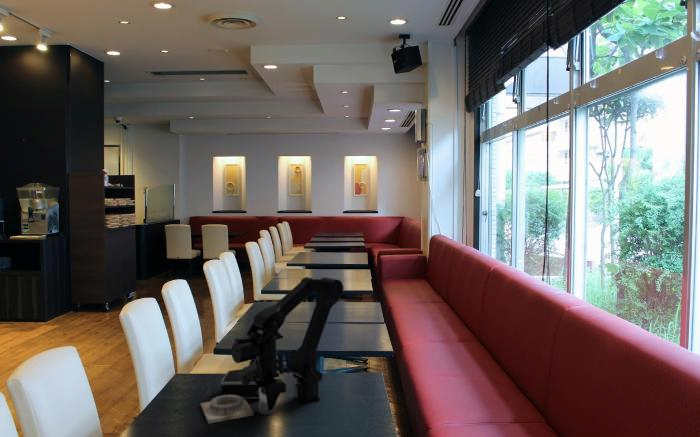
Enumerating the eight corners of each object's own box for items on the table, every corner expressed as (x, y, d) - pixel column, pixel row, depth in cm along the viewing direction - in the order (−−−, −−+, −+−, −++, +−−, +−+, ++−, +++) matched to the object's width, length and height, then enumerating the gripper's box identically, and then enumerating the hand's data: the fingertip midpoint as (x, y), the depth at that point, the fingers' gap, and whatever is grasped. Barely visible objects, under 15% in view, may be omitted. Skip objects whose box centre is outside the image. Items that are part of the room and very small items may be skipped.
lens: (273, 406, 162) (273, 383, 162) (278, 412, 158) (278, 388, 157) (257, 409, 160) (257, 385, 160) (261, 415, 156) (261, 391, 155)
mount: (242, 399, 168) (242, 389, 168) (253, 415, 157) (253, 405, 156) (200, 406, 163) (200, 396, 163) (208, 423, 151) (208, 413, 151)
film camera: (233, 380, 185) (275, 380, 184) (217, 404, 169) (264, 404, 168) (231, 357, 184) (274, 357, 183) (215, 379, 168) (262, 379, 167)
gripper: (232, 350, 163) (233, 399, 164) (247, 369, 146) (248, 424, 147) (268, 345, 168) (269, 393, 169) (286, 363, 151) (287, 417, 152)
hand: (267, 406), depth 159 cm, fingers closed on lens, 5 cm apart
